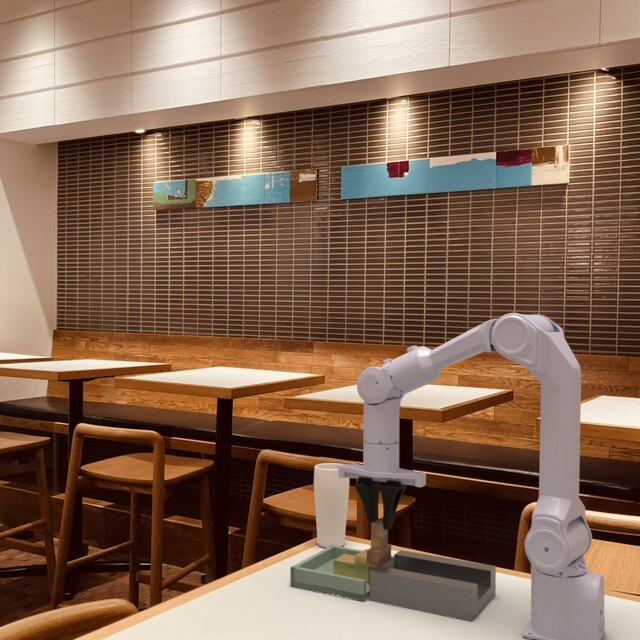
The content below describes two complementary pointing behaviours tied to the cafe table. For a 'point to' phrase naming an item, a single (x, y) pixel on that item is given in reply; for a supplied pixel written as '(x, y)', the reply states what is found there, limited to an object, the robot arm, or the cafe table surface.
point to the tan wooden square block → (344, 565)
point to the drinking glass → (330, 504)
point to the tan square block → (362, 566)
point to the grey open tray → (434, 584)
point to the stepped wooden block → (378, 546)
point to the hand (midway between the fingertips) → (380, 526)
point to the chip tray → (330, 575)
